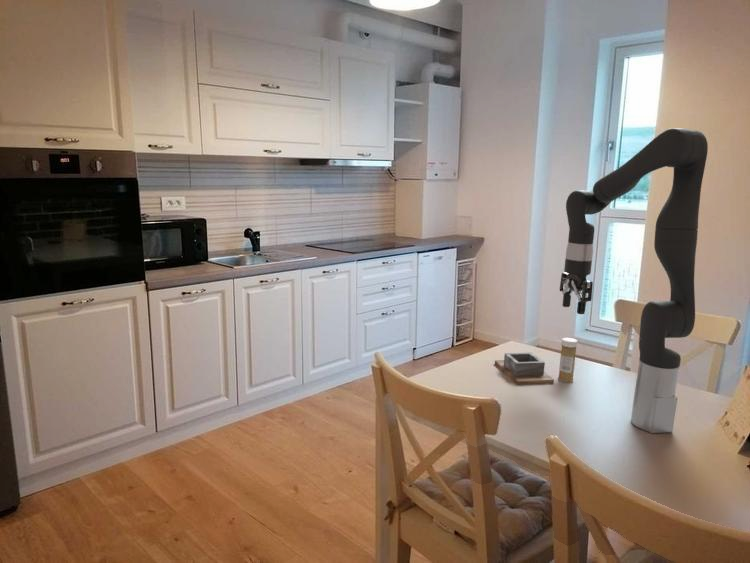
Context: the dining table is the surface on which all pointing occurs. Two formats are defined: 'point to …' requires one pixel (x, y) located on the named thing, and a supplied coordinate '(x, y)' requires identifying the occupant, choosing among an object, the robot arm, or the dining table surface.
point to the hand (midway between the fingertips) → (573, 310)
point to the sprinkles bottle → (567, 359)
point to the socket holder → (524, 368)
